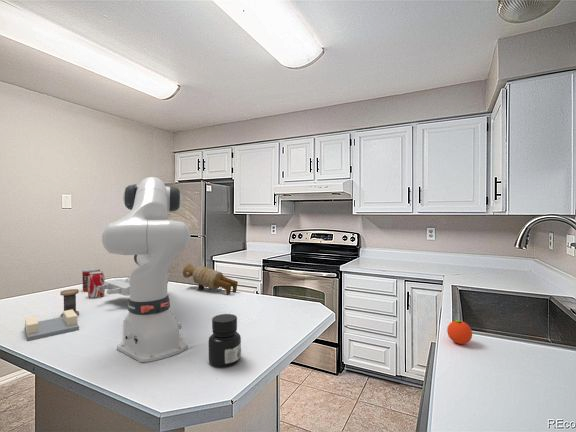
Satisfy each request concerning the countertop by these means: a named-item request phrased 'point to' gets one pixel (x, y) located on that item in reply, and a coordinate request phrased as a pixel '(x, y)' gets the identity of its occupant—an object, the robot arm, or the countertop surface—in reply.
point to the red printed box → (85, 277)
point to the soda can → (95, 284)
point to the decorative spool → (209, 278)
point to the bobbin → (70, 300)
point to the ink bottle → (224, 341)
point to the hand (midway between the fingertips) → (102, 290)
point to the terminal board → (51, 325)
